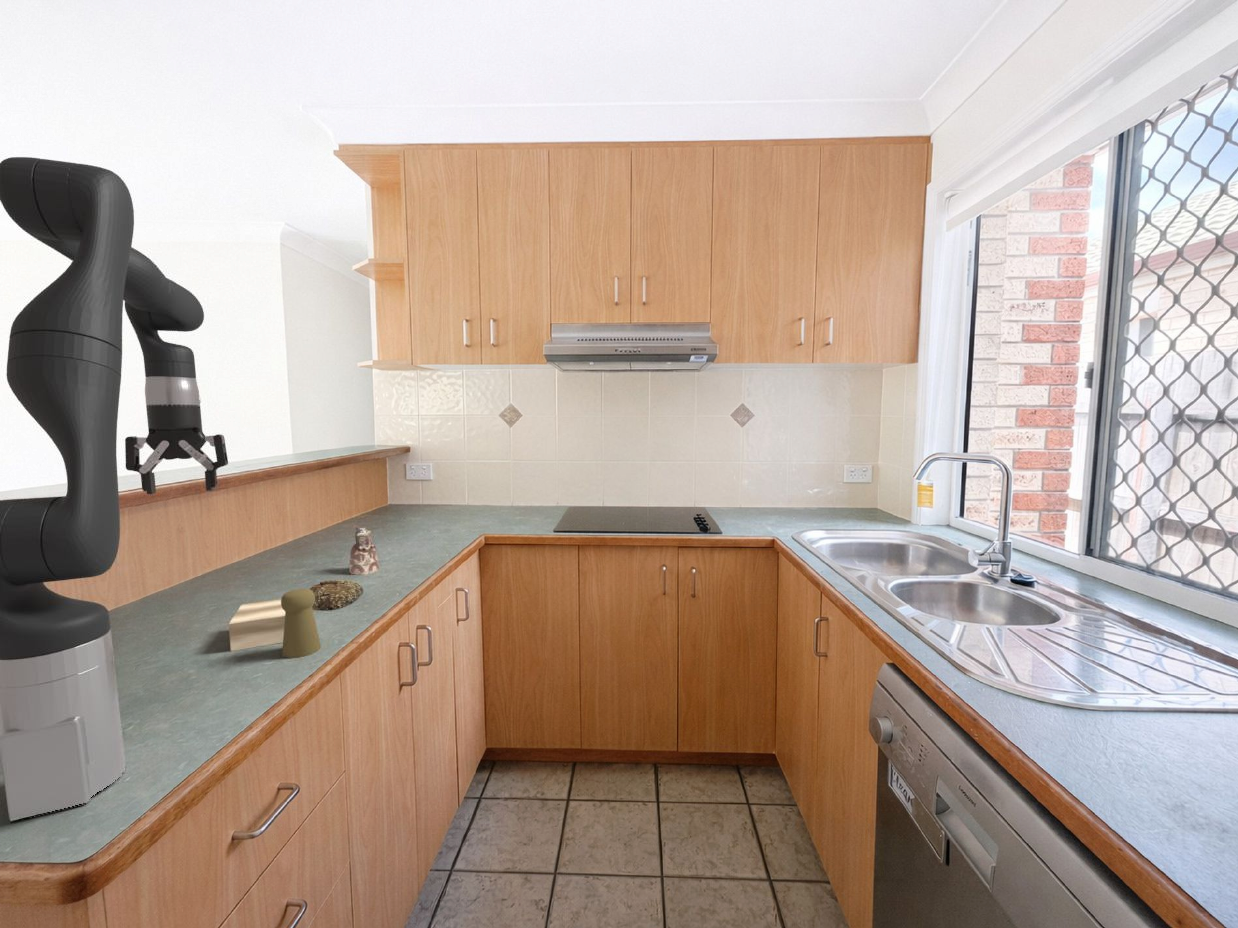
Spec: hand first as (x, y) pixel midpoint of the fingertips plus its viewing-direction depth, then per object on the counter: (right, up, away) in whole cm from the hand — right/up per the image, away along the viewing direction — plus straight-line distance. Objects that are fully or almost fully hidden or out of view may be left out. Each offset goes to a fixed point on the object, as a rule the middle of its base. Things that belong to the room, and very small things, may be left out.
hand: (181, 492), depth 97 cm
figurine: (+11, -24, +46) cm, 53 cm away
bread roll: (+15, -27, +23) cm, 38 cm away
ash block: (+13, -28, +5) cm, 31 cm away
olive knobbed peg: (+23, -29, -2) cm, 37 cm away
